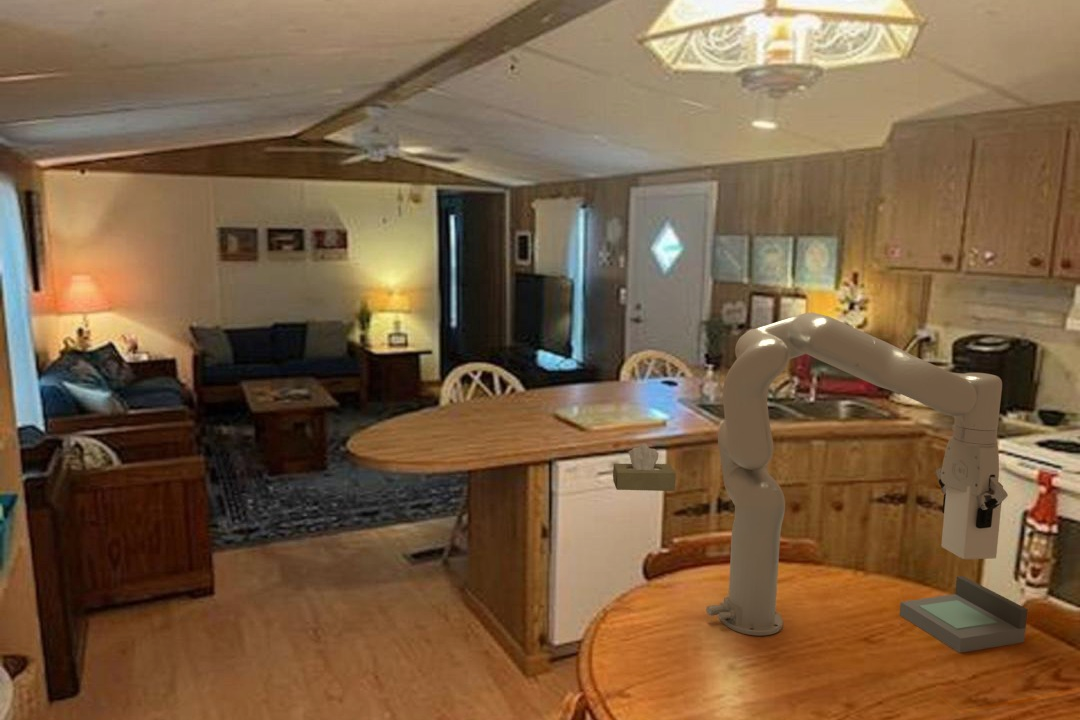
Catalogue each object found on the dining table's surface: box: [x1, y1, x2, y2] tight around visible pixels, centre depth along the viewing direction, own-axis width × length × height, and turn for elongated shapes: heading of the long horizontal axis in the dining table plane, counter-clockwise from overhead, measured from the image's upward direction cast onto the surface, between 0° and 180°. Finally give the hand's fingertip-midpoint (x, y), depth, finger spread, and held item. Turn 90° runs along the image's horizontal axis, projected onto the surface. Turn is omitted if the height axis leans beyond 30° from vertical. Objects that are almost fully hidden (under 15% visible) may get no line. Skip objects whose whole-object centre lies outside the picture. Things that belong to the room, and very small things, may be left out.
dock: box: [899, 575, 1028, 654], centre depth 158 cm, size 16×16×7 cm
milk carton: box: [941, 482, 1004, 560], centre depth 155 cm, size 7×7×19 cm
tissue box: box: [612, 443, 677, 492], centre depth 243 cm, size 19×10×16 cm, turn 91°
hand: (966, 519), depth 155 cm, fingers closed on milk carton, 7 cm apart
